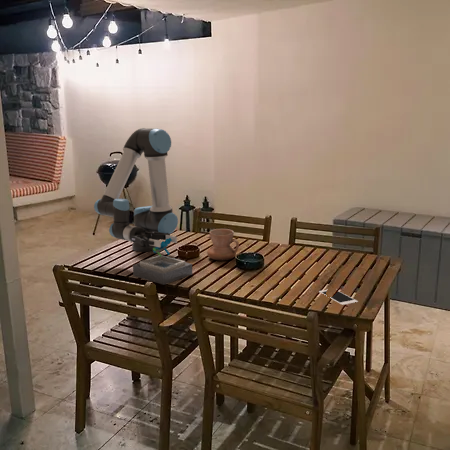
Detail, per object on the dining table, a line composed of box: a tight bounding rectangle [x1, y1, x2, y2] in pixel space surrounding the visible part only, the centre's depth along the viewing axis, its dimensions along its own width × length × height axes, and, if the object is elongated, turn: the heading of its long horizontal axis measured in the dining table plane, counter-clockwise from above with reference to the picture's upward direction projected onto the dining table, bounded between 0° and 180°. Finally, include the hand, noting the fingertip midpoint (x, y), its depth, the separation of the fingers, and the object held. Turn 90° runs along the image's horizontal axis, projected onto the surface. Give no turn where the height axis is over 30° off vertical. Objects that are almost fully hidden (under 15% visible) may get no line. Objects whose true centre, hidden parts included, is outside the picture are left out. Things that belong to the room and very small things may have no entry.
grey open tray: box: [132, 254, 193, 286], centre depth 227 cm, size 18×20×6 cm
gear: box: [152, 238, 172, 257], centre depth 223 cm, size 11×6×10 cm
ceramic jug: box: [206, 228, 240, 262], centre depth 251 cm, size 18×14×14 cm
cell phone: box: [318, 289, 359, 306], centre depth 200 cm, size 8×16×1 cm, turn 24°
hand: (168, 242), depth 221 cm, fingers closed on gear, 9 cm apart
